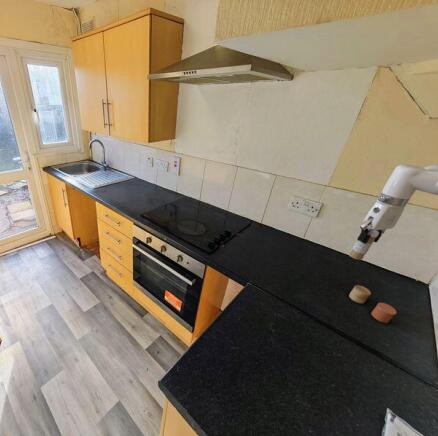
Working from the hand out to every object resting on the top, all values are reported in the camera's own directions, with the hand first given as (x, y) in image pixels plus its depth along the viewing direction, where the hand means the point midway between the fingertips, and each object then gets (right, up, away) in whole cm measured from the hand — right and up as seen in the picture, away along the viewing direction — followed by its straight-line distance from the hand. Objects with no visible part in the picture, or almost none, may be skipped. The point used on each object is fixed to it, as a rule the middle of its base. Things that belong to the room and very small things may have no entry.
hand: (366, 240), depth 90 cm
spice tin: (-1, -25, +4) cm, 25 cm away
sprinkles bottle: (0, -8, +5) cm, 9 cm away
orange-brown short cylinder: (+1, -29, -4) cm, 29 cm away
